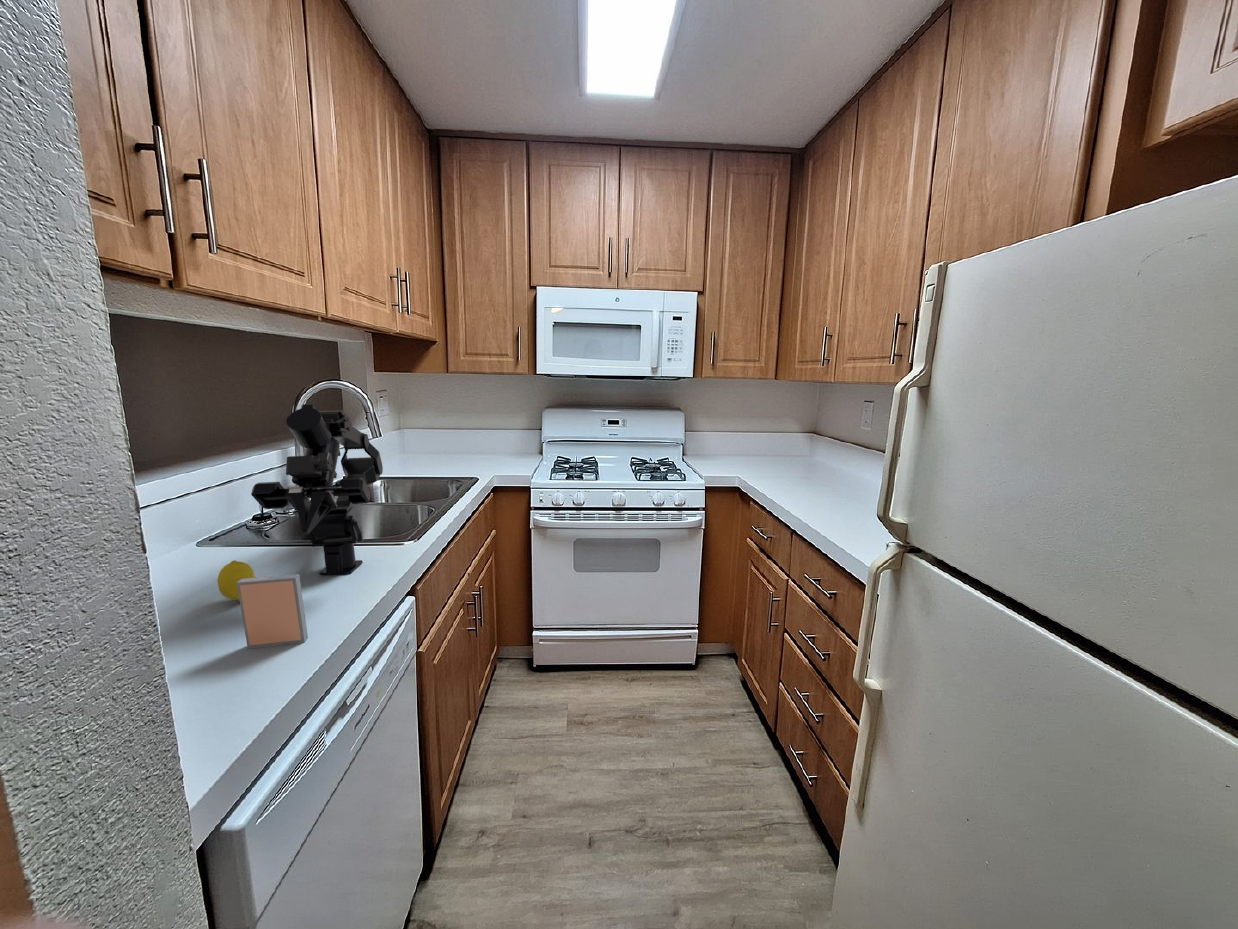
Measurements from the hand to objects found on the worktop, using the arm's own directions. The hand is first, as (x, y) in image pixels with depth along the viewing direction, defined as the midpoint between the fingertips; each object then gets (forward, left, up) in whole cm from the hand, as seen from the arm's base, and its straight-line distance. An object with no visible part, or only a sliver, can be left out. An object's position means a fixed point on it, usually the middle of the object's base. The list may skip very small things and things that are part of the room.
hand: (305, 533), depth 90 cm
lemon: (-1, -14, -14) cm, 20 cm away
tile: (+15, +2, -13) cm, 20 cm away
